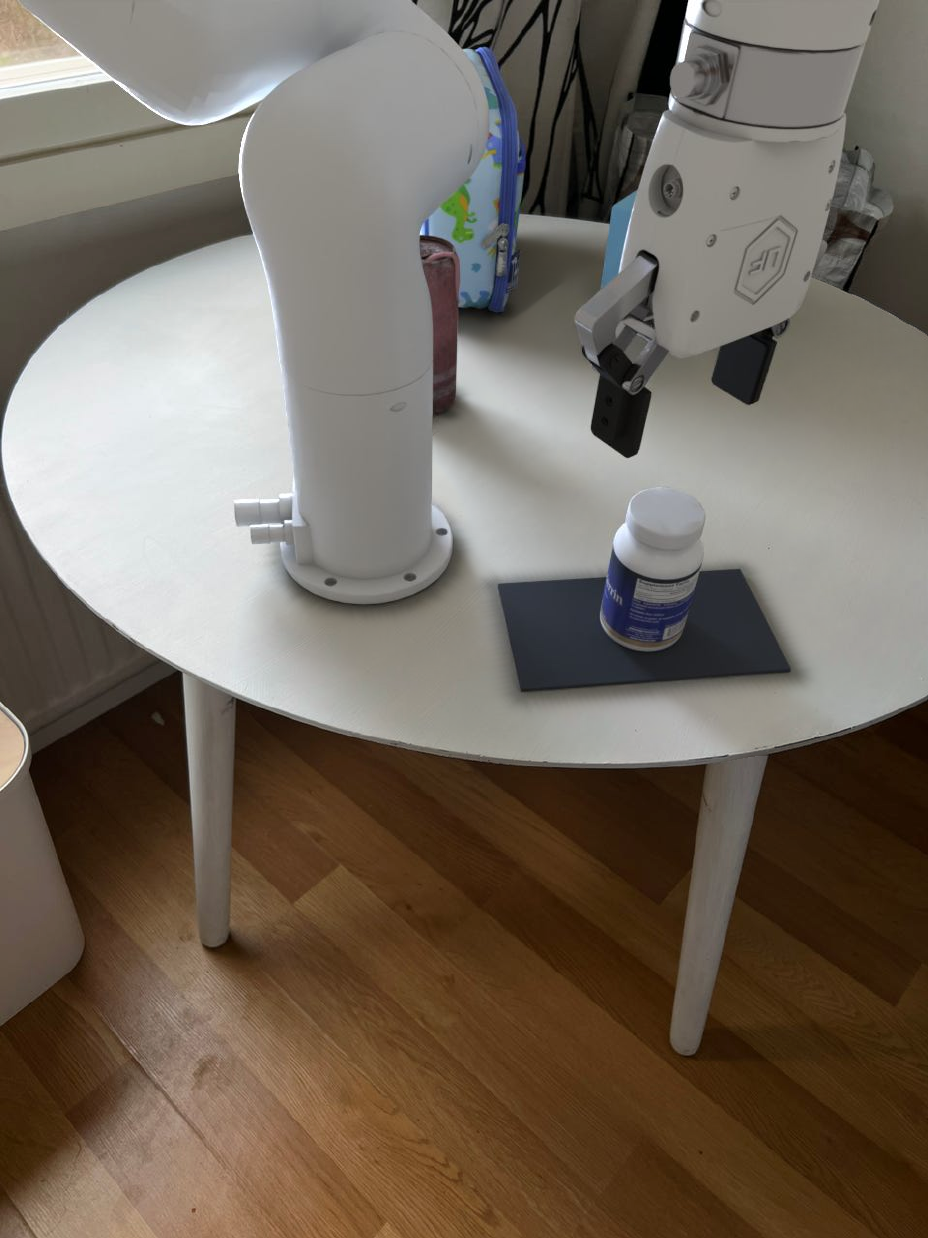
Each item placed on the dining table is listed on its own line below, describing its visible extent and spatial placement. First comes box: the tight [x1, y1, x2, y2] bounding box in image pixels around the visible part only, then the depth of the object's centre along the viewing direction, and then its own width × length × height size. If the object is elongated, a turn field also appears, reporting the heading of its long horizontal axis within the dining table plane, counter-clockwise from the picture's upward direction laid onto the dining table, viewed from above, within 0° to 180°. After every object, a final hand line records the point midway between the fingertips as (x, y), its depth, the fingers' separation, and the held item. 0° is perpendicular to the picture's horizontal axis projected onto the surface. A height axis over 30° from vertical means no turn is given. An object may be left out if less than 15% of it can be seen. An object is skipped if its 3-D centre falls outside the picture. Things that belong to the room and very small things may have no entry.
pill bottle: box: [600, 486, 706, 652], centre depth 59 cm, size 6×6×10 cm
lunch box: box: [420, 46, 527, 313], centre depth 94 cm, size 26×11×21 cm, turn 6°
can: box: [419, 235, 460, 418], centre depth 78 cm, size 6×6×14 cm
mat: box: [497, 568, 792, 693], centre depth 63 cm, size 18×10×1 cm, turn 97°
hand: (675, 417), depth 52 cm, fingers open, 9 cm apart
